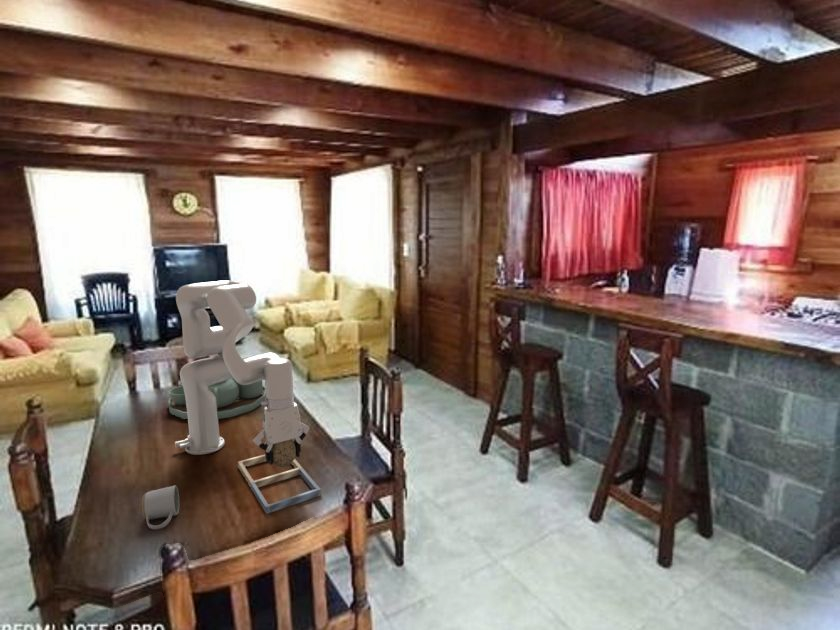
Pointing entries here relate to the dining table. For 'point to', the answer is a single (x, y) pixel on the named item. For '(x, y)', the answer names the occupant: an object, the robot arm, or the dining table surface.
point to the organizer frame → (275, 478)
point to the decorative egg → (283, 453)
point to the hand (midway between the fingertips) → (283, 458)
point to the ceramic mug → (160, 505)
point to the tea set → (222, 398)
